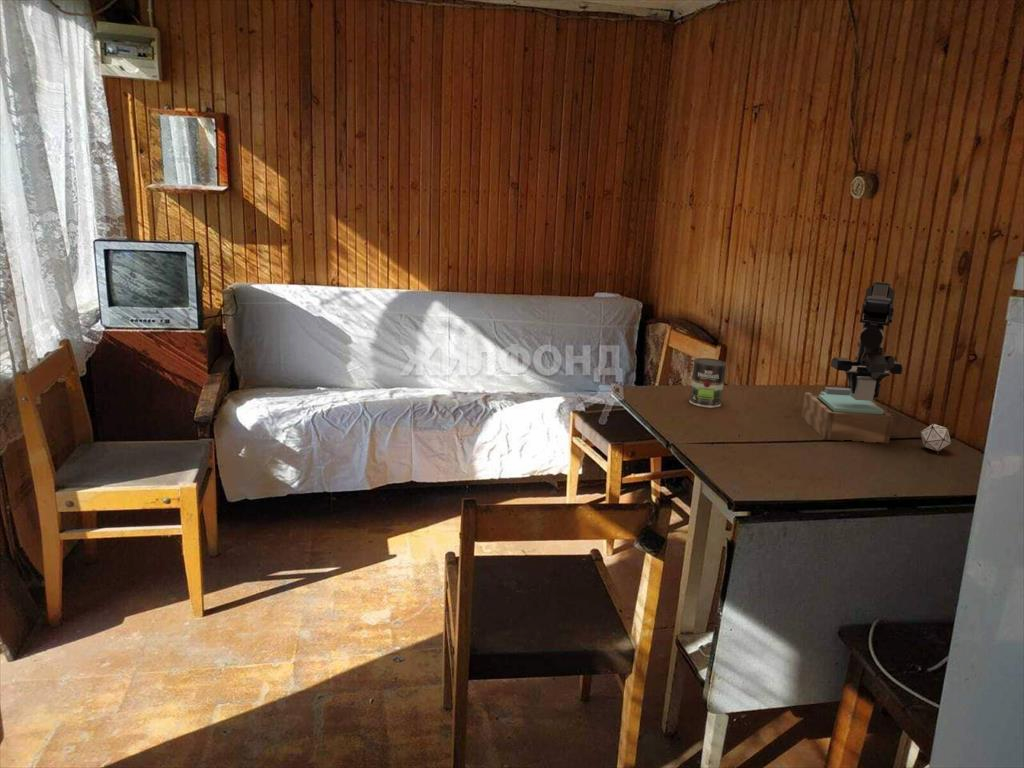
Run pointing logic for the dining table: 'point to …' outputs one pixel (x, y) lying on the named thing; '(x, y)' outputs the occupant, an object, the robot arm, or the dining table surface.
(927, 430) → the game die
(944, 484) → the dining table surface
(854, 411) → the trapdoor
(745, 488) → the dining table surface
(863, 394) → the grey block
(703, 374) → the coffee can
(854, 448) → the dining table surface
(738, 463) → the dining table surface
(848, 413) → the box frame
